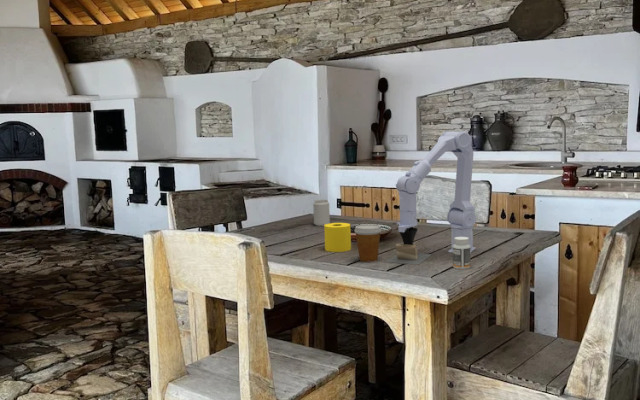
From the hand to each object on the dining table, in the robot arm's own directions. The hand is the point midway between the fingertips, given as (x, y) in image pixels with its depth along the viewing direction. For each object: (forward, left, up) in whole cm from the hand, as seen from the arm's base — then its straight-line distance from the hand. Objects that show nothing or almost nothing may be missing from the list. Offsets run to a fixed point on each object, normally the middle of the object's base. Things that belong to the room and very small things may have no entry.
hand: (408, 248), depth 215 cm
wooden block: (0, 0, -3) cm, 3 cm away
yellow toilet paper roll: (-8, -31, -4) cm, 32 cm away
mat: (-1, 0, -4) cm, 4 cm away
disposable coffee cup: (+5, -13, -4) cm, 15 cm away
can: (-54, -61, -4) cm, 81 cm away
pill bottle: (+5, +20, -4) cm, 21 cm away
